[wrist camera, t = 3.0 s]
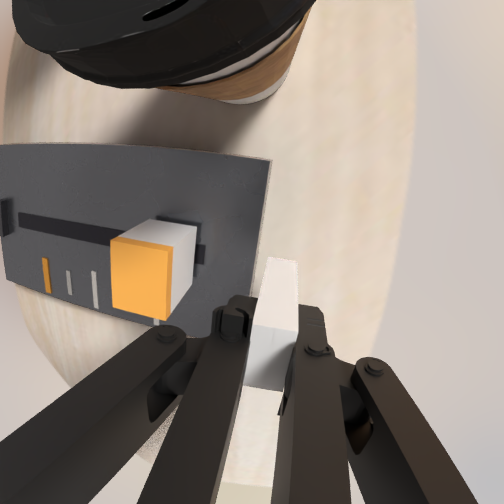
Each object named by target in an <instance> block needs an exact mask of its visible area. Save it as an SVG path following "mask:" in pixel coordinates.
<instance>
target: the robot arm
mask: <svg viewBox="0 0 504 504" xmlns="http://www.w3.org/2000/svg"><path fill="white" fill-rule="evenodd" d="M242 385H244V386H250V387H256V388H261V389H267V390H274V391H280V392H283V389H284V394H283V397H282V401H281V404H280V407H279V411H278V414H277V415H280V421H279V432H278V442H277V452H276V462H275V471H274V480H273V489H272V497H271V504H351V492H350V479H349V467H348V461H349V463H350V466H351V468H352V471H353V473H354V476H355V479H356V481H357V484H358V486H359V489H360V491H361V494H362V496H363V499H364V502H365V504H478V503H477V501H476V499H475V498H474V496H473V494H472V492H471V491H470V489H469V488H468V486H467V484H466V483H465V481H464V479H463V477H462V476H461V475H460V472H459V471H458V469H457V468H456V466H455V464H454V463H453V461H452V460H451V458H450V456H449V455H448V453H447V452H446V450H445V448H444V447H443V445H442V444H441V442H440V441H439V439H438V438H437V436H436V434H435V433H434V431H433V430H432V428H431V427H430V425H429V424H428V422H427V421H426V419H425V417H424V416H423V414H422V413H421V411H420V410H419V408H418V407H417V405H416V404H415V402H414V401H413V399H412V398H411V397H410V395H409V394H408V392H407V391H406V389H405V388H404V386H403V385H402V383H401V382H400V380H399V379H398V377H397V376H396V375H395V373H394V372H393V370H392V369H391V367H390V366H389V365H388V364H387V363H385V362H384V361H382V360H380V359H377V358H373V357H365V358H361V359H359V360H358V361H357V362H356V365H353V364H350V363H347V362H344V361H341V360H339V359H338V358H336V357H335V353H334V350H333V348H332V347H331V346H330V345H328V343H327V336H326V329H325V322H324V315H323V313H322V312H321V310H320V309H319V308H318V307H313V306H307V305H301V304H298V266H297V261H292V260H286V259H281V258H275V257H269V256H268V259H267V263H266V268H265V272H264V276H263V280H262V285H261V289H260V293H259V297H258V298H254V297H248V296H243V295H237V294H236V295H235V296H233V297H232V298H230V299H229V301H228V303H227V305H223V306H219V307H217V308H215V309H214V310H213V312H212V324H211V333H210V335H209V336H207V337H203V338H186V333H185V332H184V331H183V330H182V329H180V328H179V327H176V326H173V325H158V326H155V327H153V328H151V329H149V330H148V331H147V332H145V333H144V334H143V335H141V336H140V337H139V338H137V339H136V340H135V341H133V342H132V343H131V344H129V345H128V346H127V347H125V348H124V349H123V350H121V351H120V352H119V353H117V354H116V355H115V356H113V357H112V358H111V359H109V360H108V361H107V362H105V363H104V364H103V365H102V366H100V367H99V368H98V369H96V370H95V371H94V372H92V373H91V374H90V375H88V376H87V377H86V378H84V379H83V380H82V381H80V382H79V383H78V384H76V385H75V386H74V387H72V388H71V389H70V390H68V391H67V392H66V393H64V394H63V395H62V396H60V397H59V398H58V399H56V400H55V401H54V402H53V403H51V404H50V405H49V406H47V407H46V408H45V409H43V410H42V411H41V412H39V413H38V414H37V415H35V416H34V417H33V418H31V419H30V420H29V421H27V422H26V423H25V424H23V425H22V426H21V427H19V428H18V429H17V430H15V431H14V432H13V433H11V434H10V435H9V436H7V437H6V438H5V439H4V440H2V441H1V442H0V504H88V503H89V502H90V501H91V500H92V499H93V498H94V497H95V496H96V495H97V494H98V492H99V491H100V490H101V489H102V488H103V487H104V486H105V485H106V484H107V483H108V482H109V481H110V480H111V479H112V478H113V477H114V476H115V475H116V474H117V472H118V471H119V470H120V469H121V468H122V467H123V466H124V465H125V464H126V463H127V462H128V461H129V460H130V458H131V457H132V456H133V455H134V454H135V453H136V452H137V451H138V450H139V449H140V447H141V446H142V445H143V444H144V443H145V442H146V441H147V440H148V439H149V437H150V436H151V435H152V434H153V433H154V432H155V431H156V430H157V429H158V427H159V426H160V425H161V424H162V423H163V422H164V421H165V419H166V418H167V417H168V416H169V415H170V414H171V413H172V412H173V410H174V409H175V408H176V407H177V406H178V405H179V406H178V409H177V411H176V413H175V416H174V418H173V420H172V423H171V425H170V427H169V430H168V432H167V434H166V437H165V439H164V441H163V443H162V446H161V448H160V450H159V453H158V455H157V457H156V460H155V462H154V464H153V467H152V469H151V472H150V474H149V476H148V478H147V481H146V483H145V485H144V488H143V490H142V492H141V495H140V497H139V499H138V502H137V504H215V503H216V498H217V494H218V490H219V486H220V482H221V478H222V474H223V470H224V465H225V461H226V457H227V453H228V449H229V444H230V440H231V436H232V431H233V427H234V423H235V418H236V414H237V410H238V405H239V401H240V396H241V391H242ZM284 385H285V386H284ZM179 403H180V404H179Z"/></svg>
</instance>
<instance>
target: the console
mask: <svg viewBox="0 0 504 504" xmlns="http://www.w3.org/2000/svg"><path fill="white" fill-rule="evenodd" d="M271 166H272V160H270V159H263V158H257V157H250V156H243V155H235V154H227V153H219V152H211V151H202V150H192V149H182V148H171V147H159V146H146V145H130V144H109V143H69V142H49V143H13V144H4V145H0V236H1V243H2V251H3V258H4V266H5V273H6V279H7V280H9V281H12V282H14V283H17V284H20V285H22V286H25V287H28V288H30V289H33V290H36V291H39V292H41V293H44V294H47V295H50V296H53V297H56V298H58V299H61V300H64V301H67V302H70V303H73V304H77V305H80V306H83V307H86V308H89V309H92V310H96V311H99V312H102V313H105V314H109V315H112V316H116V317H119V318H123V319H126V320H130V321H133V322H137V323H141V324H145V325H148V326H152V327H155V326H158V325H173V326H176V327H179V328H180V329H182V330H183V331H184V332H185V333H186V335H189V336H193V337H197V338H203V337H207V336H209V335H210V333H211V324H212V312H213V310H214V309H215V308H217V307H219V306H223V305H227V303H228V301H229V299H230V298H232V297H233V296H235V295H236V294H237V295H243V296H248V297H251V294H252V288H253V282H254V275H255V269H256V263H257V256H258V250H259V244H260V237H261V231H262V224H263V218H264V212H265V205H266V199H267V192H268V186H269V179H270V173H271ZM148 219H152V220H159V221H165V222H171V223H177V224H183V225H189V226H195V227H197V231H196V242H195V254H194V266H193V279H192V285H191V286H190V288H189V289H188V290H187V292H186V293H185V295H184V296H183V297H182V299H181V300H180V302H179V303H178V304H177V306H176V307H175V309H174V310H173V311H172V313H171V314H170V316H169V317H168V318H167V320H166V321H164V320H160V319H156V318H152V317H148V316H144V315H140V314H136V313H132V312H129V311H125V310H121V309H118V308H114V307H113V303H112V285H111V253H110V240H112V239H114V238H115V237H117V236H119V235H121V234H123V233H124V232H126V231H128V230H130V229H132V228H133V227H135V226H137V225H139V224H141V223H143V222H145V221H146V220H148Z"/></svg>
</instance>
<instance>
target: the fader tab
mask: <svg viewBox="0 0 504 504" xmlns="http://www.w3.org/2000/svg"><path fill="white" fill-rule="evenodd" d="M196 231H197V227H195V226H189V225H183V224H177V223H171V222H165V221H159V220H152V219H148V220H146V221H145V222H143V223H141V224H139V225H137V226H135V227H133V228H132V229H130V230H128V231H126V232H124V233H123V234H121V235H119V236H117V237H115V238H114V239H112V240H110V253H111V285H112V303H113V307H114V308H118V309H121V310H125V311H129V312H132V313H136V314H140V315H144V316H148V317H152V318H156V319H160V320H164V321H166V320H167V318H168V317H169V316H170V314H171V313H172V311H173V310H174V309H175V307H176V306H177V304H178V303H179V302H180V300H181V299H182V297H183V296H184V295H185V293H186V292H187V290H188V289H189V288H190V286H191V285H192V279H193V266H194V254H195V242H196Z"/></svg>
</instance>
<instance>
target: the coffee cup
mask: <svg viewBox="0 0 504 504" xmlns="http://www.w3.org/2000/svg"><path fill="white" fill-rule="evenodd" d="M315 1H316V0H12V14H13V20H14V24H15V27H16V30H17V33H18V34H19V35H20V37H21V38H22V39H23V41H24V42H25V43H26V44H28V45H29V46H31V47H33V48H35V49H37V50H39V51H41V52H43V53H46V54H50V55H51V57H52V58H54V59H55V60H56V61H57V62H58V63H59V64H60V65H61V66H62V67H63V68H64V69H65V70H67V71H69V72H71V73H73V74H75V75H77V76H79V77H81V78H83V79H85V80H90V81H92V82H94V83H96V84H100V85H106V86H111V87H115V88H120V89H130V88H147V89H150V88H158V89H163V90H169V91H175V92H180V93H186V94H191V95H196V96H201V97H206V98H210V99H216V100H220V101H223V102H226V103H232V104H249V103H253V102H258V101H260V100H262V99H264V98H267V97H268V96H269V95H271V94H272V93H274V92H275V91H276V90H277V89H278V88H279V87H280V86H281V85H282V83H283V82H284V80H285V79H286V77H287V74H288V72H289V69H290V65H291V61H292V59H293V56H294V54H295V51H296V48H297V45H298V43H299V40H300V37H301V34H302V32H303V29H304V26H305V23H306V21H307V18H308V15H309V13H310V10H311V7H312V5H313V4H314V2H315Z"/></svg>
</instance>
